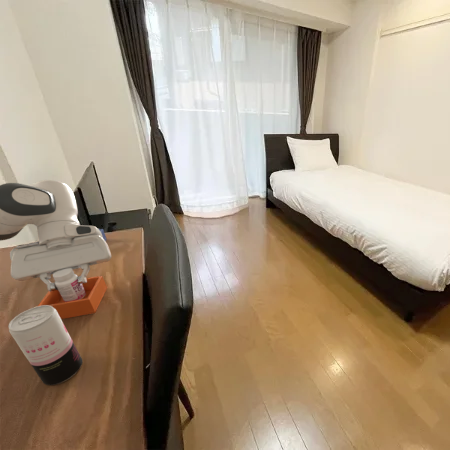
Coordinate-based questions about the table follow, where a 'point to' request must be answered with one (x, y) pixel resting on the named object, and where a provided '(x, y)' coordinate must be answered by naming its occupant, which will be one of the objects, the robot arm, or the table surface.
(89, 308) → the terracotta bin
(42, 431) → the table surface
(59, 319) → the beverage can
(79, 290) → the pill bottle
